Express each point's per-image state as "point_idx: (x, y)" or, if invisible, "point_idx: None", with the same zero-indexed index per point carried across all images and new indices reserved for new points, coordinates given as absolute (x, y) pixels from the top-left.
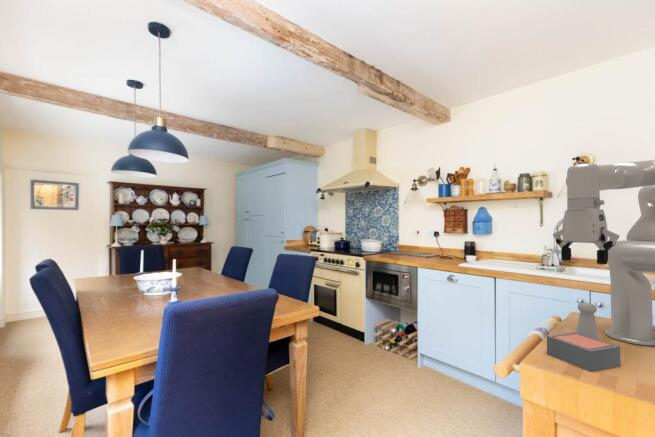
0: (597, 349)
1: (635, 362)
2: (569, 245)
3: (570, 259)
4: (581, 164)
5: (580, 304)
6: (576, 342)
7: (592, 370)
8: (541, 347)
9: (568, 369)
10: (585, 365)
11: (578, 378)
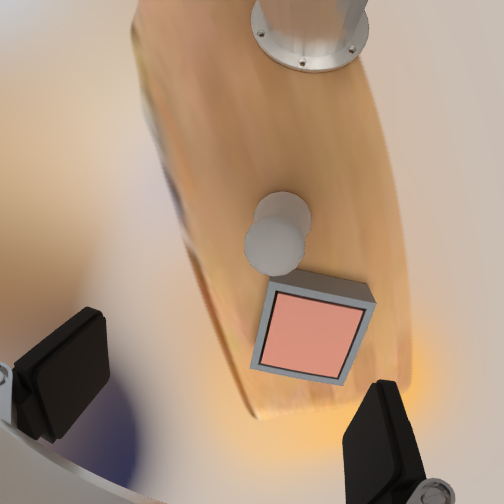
0: (348, 366)
1: (380, 228)
2: (15, 404)
3: (101, 322)
4: None
5: (259, 270)
6: (307, 359)
7: None
8: (228, 316)
9: (312, 381)
10: None
11: (333, 398)
